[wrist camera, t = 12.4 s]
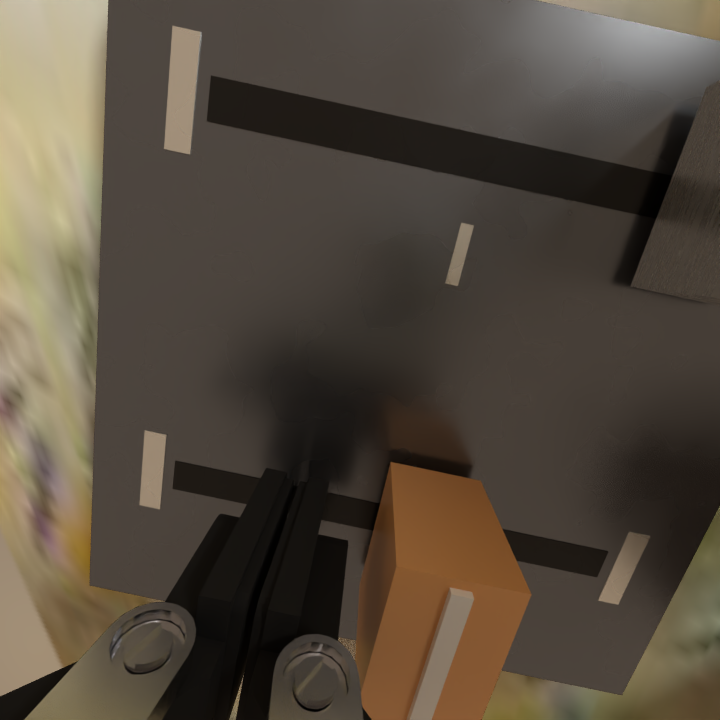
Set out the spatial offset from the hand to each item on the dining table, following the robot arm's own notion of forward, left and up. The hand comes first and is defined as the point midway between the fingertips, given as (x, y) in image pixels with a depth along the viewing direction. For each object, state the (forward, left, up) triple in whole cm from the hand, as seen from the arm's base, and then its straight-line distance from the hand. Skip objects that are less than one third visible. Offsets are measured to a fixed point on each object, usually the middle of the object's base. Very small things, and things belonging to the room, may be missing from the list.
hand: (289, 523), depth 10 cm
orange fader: (-3, 0, -1) cm, 3 cm away
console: (-3, -4, -3) cm, 6 cm away
